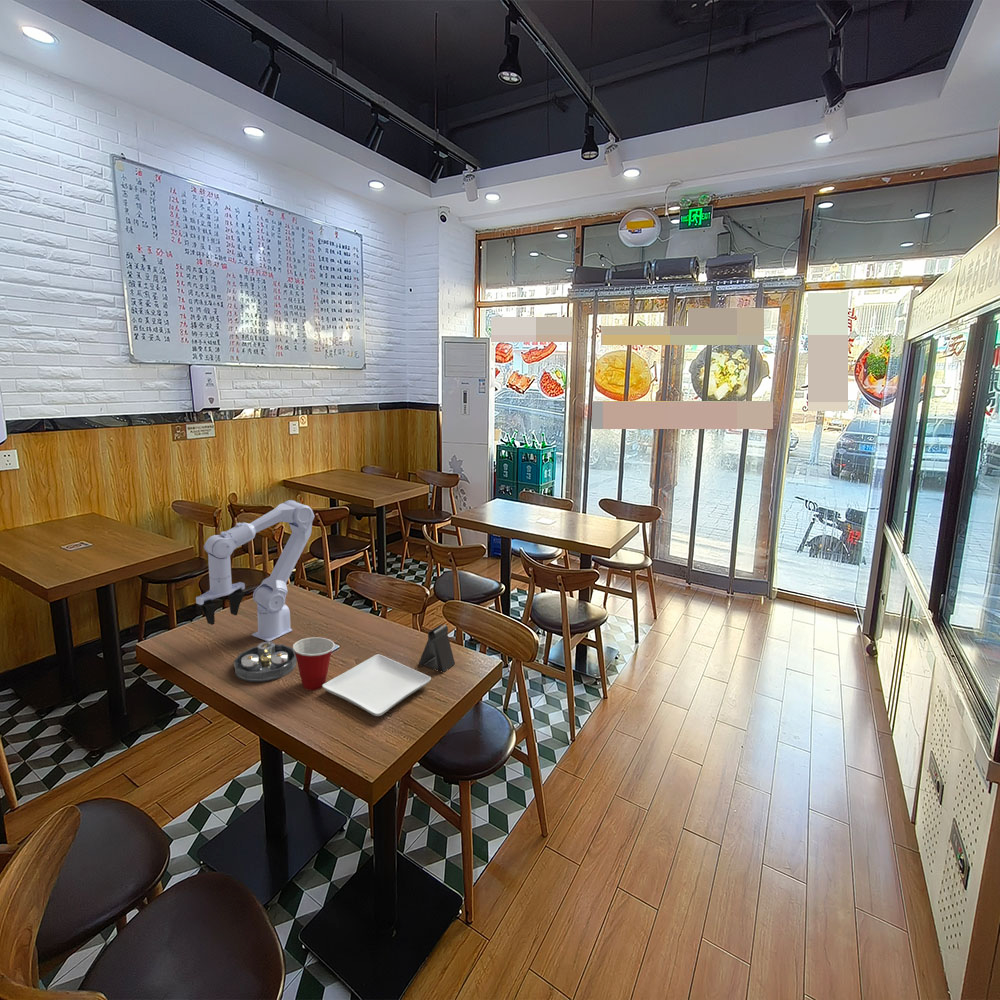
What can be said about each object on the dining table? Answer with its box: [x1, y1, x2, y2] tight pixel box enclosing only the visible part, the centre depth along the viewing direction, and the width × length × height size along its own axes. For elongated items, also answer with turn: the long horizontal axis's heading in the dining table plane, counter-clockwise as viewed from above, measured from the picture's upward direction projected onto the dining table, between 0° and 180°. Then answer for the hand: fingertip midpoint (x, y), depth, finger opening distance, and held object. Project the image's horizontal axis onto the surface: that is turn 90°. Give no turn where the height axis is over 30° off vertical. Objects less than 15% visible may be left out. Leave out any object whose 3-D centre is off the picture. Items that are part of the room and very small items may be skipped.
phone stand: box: [418, 623, 456, 673], centre depth 159 cm, size 9×6×12 cm, turn 60°
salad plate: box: [322, 653, 432, 717], centre depth 145 cm, size 21×21×3 cm
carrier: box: [233, 643, 297, 683], centre depth 153 cm, size 16×16×5 cm
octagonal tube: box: [256, 641, 275, 659], centre depth 157 cm, size 4×4×3 cm
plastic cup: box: [292, 636, 336, 691], centre depth 145 cm, size 11×11×12 cm
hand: (222, 618), depth 160 cm, fingers open, 7 cm apart
